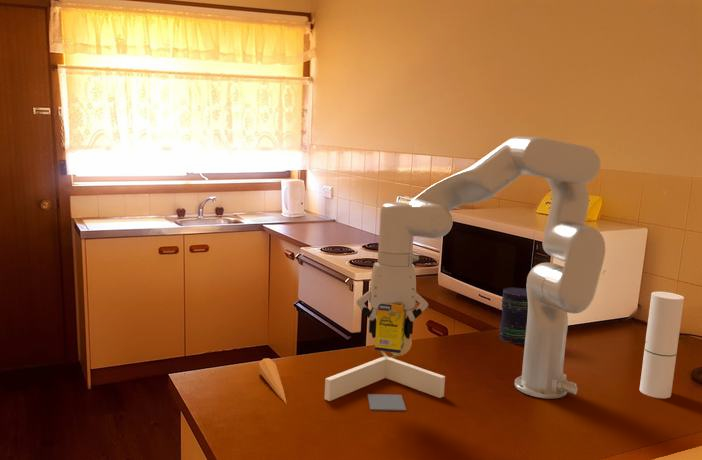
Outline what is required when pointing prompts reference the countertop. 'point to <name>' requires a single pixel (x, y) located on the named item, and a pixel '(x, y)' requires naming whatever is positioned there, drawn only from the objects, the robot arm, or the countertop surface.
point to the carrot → (272, 376)
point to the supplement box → (390, 327)
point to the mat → (386, 402)
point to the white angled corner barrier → (381, 370)
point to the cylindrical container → (661, 344)
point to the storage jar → (514, 315)
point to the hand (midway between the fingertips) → (390, 335)
